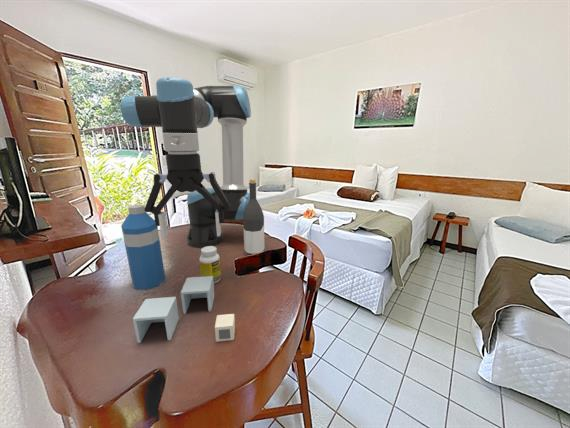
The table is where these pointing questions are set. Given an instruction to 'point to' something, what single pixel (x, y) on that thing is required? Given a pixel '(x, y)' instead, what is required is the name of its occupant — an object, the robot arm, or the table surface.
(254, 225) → the wine bottle
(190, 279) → the cover far
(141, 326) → the cover near
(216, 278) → the pill bottle
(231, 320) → the letter cube
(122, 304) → the table surface
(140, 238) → the water bottle
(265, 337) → the table surface
